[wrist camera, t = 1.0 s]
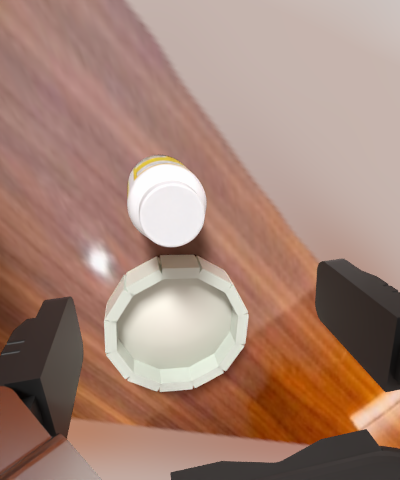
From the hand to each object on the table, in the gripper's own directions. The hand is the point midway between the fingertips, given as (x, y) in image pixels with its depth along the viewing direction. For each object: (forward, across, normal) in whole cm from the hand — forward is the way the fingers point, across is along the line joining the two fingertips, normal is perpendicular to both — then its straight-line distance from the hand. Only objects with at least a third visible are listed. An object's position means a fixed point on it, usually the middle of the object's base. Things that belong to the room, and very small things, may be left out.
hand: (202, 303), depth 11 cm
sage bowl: (+20, 0, +13) cm, 24 cm away
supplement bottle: (+20, 0, 0) cm, 20 cm away
